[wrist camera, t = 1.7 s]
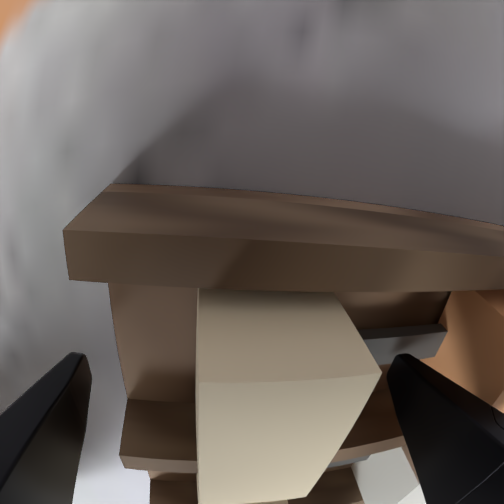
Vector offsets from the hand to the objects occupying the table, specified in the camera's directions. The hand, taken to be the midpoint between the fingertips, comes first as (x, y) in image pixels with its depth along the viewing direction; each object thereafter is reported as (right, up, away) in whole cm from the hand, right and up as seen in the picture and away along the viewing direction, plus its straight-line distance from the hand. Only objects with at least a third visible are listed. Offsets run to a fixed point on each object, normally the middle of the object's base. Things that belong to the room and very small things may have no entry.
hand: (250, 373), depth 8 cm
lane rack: (+4, -3, +4) cm, 7 cm away
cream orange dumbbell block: (+6, 0, +2) cm, 6 cm away
